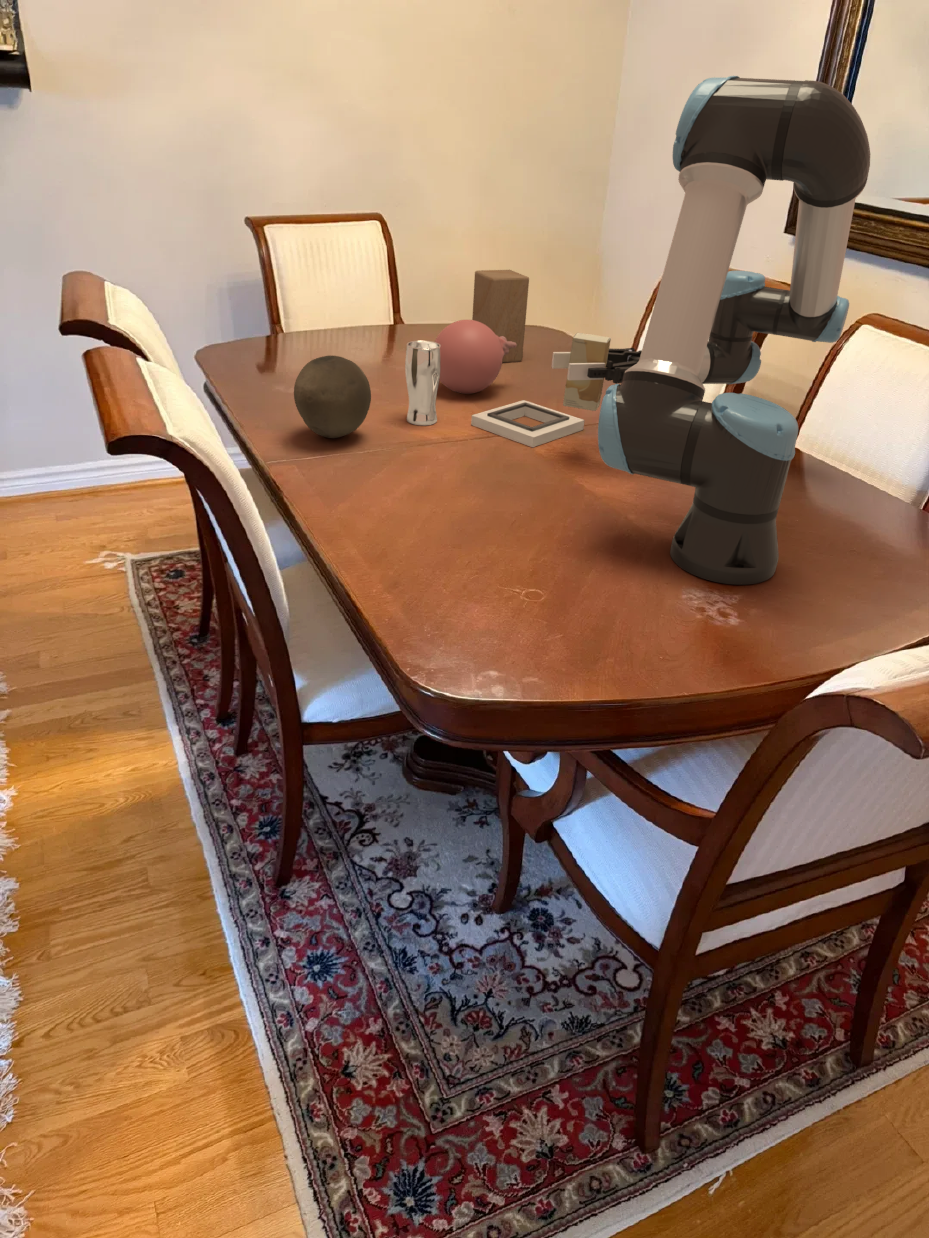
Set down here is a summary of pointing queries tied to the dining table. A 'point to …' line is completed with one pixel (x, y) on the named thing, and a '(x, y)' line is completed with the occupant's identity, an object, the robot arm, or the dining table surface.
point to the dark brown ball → (332, 396)
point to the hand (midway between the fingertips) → (560, 366)
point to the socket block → (504, 425)
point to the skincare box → (586, 351)
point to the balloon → (470, 356)
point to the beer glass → (422, 380)
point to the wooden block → (502, 306)
